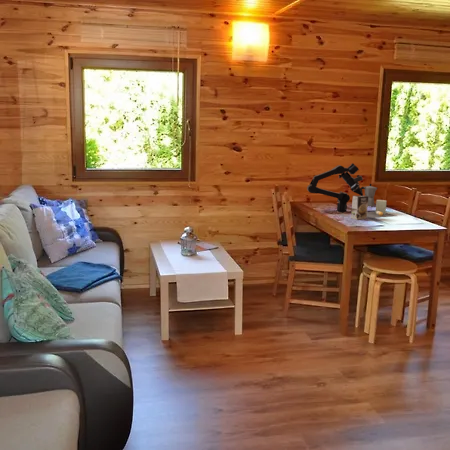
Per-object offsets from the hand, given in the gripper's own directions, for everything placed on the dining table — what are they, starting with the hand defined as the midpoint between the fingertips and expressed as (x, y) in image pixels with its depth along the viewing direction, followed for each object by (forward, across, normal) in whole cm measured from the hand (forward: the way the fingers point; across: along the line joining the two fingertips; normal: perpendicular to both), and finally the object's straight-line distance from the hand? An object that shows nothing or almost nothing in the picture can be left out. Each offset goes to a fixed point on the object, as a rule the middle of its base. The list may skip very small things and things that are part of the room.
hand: (362, 194), depth 388 cm
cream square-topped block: (+19, 0, -1) cm, 19 cm away
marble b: (+18, -12, -2) cm, 21 cm away
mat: (+17, -7, +2) cm, 19 cm away
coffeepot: (+13, +36, +6) cm, 39 cm away
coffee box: (+9, -26, +11) cm, 30 cm away
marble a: (+17, -8, 0) cm, 19 cm away
